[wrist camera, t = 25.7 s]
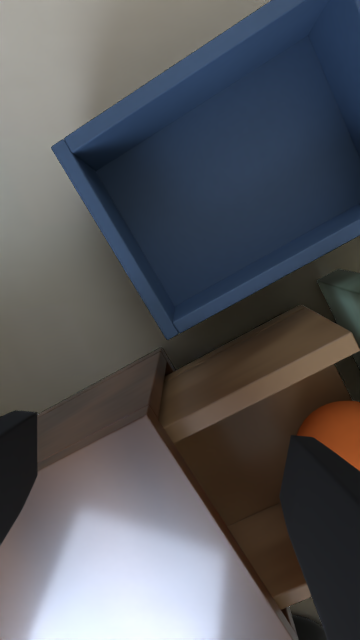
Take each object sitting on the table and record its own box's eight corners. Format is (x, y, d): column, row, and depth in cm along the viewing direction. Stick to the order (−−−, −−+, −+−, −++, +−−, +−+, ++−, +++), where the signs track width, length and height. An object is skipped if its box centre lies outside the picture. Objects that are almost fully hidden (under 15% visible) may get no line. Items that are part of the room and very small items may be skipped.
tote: (170, 319, 18) (167, 341, 14) (81, 168, 17) (49, 146, 13) (385, 200, 17) (446, 188, 13) (310, 21, 15) (354, -56, 11)
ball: (275, 470, 13) (424, 548, 11) (318, 365, 15) (453, 412, 13) (279, 493, 17) (390, 554, 15) (313, 407, 19) (415, 448, 17)
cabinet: (161, 346, 19) (146, 414, 11) (262, 513, 21) (303, 656, 14) (-32, 451, 20) (-151, 568, 13) (82, 594, 23) (35, 760, 15)
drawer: (434, 216, 16) (567, 204, 10) (507, 405, 18) (650, 478, 13) (124, 383, 18) (98, 446, 13) (222, 534, 20) (236, 644, 15)
